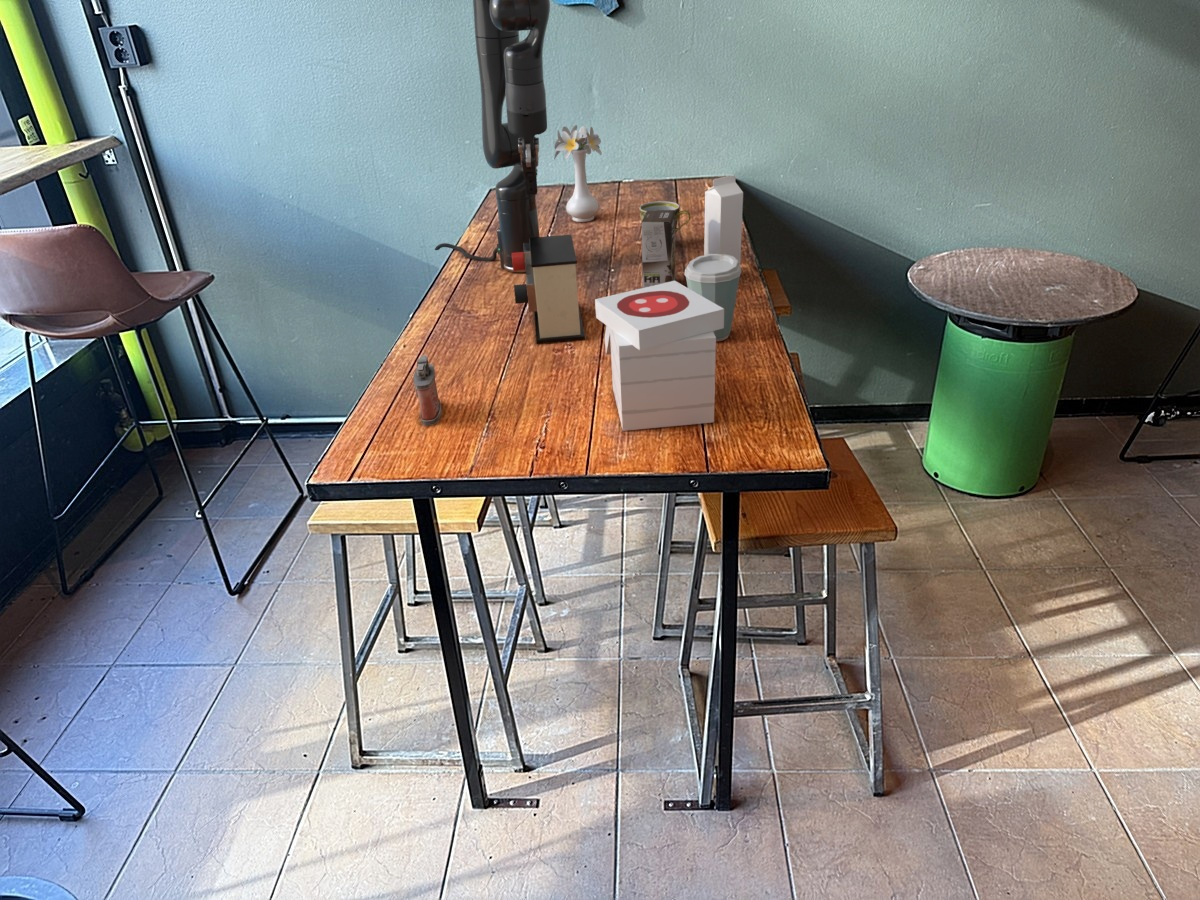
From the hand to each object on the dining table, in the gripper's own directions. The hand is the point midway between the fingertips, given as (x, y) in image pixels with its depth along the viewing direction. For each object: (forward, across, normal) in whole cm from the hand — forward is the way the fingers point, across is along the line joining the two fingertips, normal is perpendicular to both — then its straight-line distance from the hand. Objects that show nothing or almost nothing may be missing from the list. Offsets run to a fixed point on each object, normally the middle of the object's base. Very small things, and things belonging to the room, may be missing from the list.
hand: (531, 193), depth 167 cm
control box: (+22, +14, +4) cm, 27 cm away
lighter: (+18, +49, -17) cm, 55 cm away
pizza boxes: (+17, +46, +21) cm, 53 cm away
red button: (+12, +9, -3) cm, 16 cm away
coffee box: (+24, -3, +27) cm, 36 cm away
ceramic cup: (+28, -31, +32) cm, 52 cm away
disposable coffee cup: (+20, +25, +34) cm, 47 cm away
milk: (+24, -8, +42) cm, 49 cm away
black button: (+14, +18, -3) cm, 23 cm away
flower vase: (+33, -60, +11) cm, 69 cm away
